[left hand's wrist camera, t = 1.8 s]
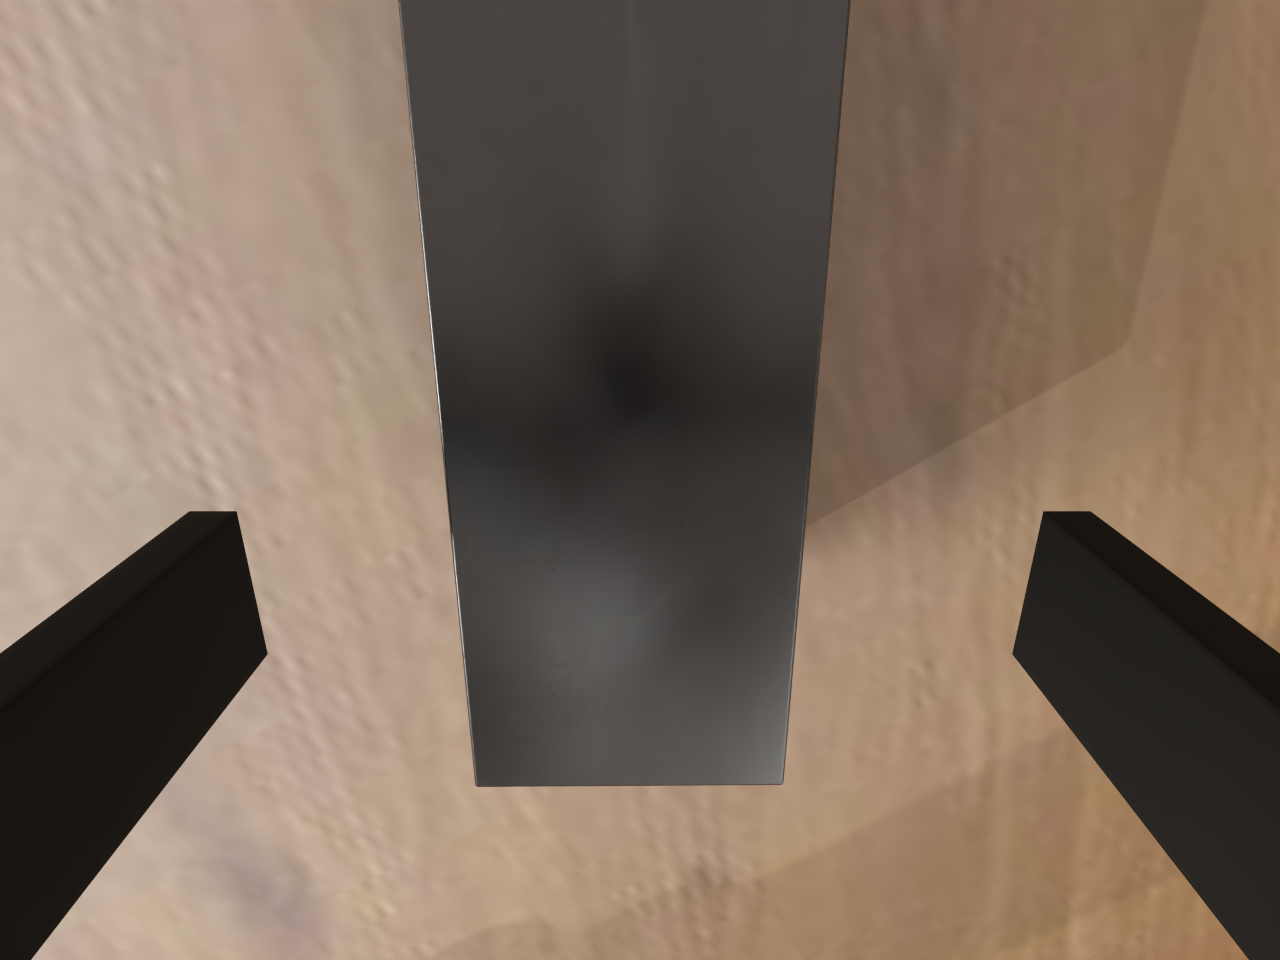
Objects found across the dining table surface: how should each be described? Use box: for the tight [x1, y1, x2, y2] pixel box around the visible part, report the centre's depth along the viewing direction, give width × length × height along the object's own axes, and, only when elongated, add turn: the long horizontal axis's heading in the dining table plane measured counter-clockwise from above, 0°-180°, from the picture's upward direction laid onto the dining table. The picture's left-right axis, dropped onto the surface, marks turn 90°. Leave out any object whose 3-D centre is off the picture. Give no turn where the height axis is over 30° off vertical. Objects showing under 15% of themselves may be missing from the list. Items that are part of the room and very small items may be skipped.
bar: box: [398, 0, 851, 787], centre depth 14 cm, size 27×6×9 cm, turn 0°
